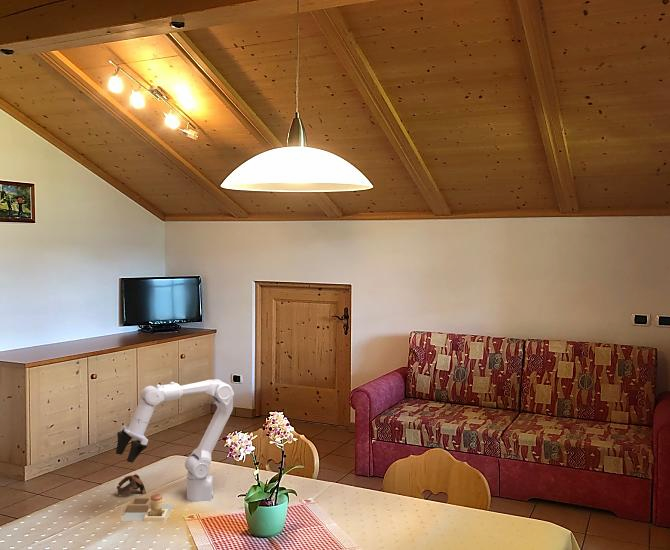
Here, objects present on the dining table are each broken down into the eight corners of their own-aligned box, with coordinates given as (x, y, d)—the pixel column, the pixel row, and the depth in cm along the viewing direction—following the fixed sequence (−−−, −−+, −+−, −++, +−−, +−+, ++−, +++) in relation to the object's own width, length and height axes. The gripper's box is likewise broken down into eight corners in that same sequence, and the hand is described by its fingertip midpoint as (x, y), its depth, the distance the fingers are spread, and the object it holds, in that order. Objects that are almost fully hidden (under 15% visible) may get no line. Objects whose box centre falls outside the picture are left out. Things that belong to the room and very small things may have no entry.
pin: (162, 514, 229) (162, 494, 228) (160, 519, 225) (160, 498, 224) (151, 514, 228) (151, 494, 228) (149, 519, 225) (149, 498, 224)
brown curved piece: (146, 500, 244) (134, 483, 241) (123, 511, 244) (111, 494, 242) (151, 480, 255) (140, 464, 253) (128, 491, 256) (117, 474, 253)
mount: (174, 507, 237) (174, 497, 237) (166, 524, 223) (166, 513, 223) (131, 507, 237) (131, 497, 236) (120, 524, 223) (120, 513, 223)
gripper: (120, 411, 233) (104, 448, 231) (142, 424, 224) (125, 463, 222) (136, 415, 239) (120, 452, 236) (158, 428, 229) (142, 467, 227)
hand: (124, 457), depth 229 cm, fingers open, 7 cm apart
